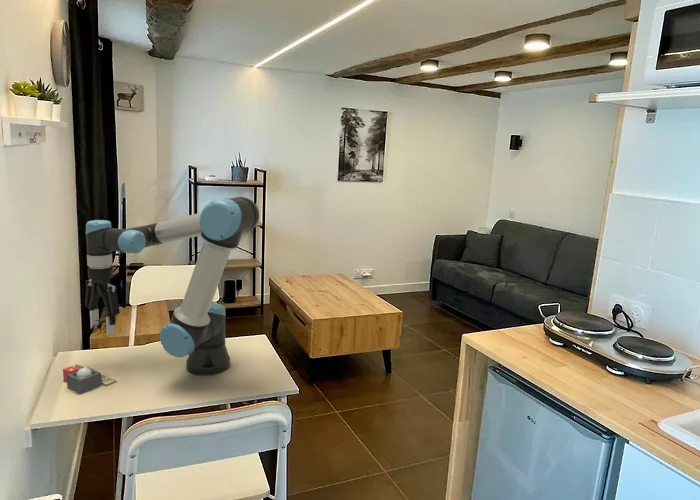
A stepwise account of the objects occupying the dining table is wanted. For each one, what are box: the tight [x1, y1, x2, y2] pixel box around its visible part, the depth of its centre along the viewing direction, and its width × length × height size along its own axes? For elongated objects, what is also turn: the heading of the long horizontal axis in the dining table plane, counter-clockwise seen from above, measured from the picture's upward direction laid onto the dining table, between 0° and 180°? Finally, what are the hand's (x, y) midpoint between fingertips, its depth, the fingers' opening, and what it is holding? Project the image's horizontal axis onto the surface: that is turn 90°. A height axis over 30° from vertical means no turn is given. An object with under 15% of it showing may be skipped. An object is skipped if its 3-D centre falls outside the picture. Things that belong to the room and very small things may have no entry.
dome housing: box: [66, 366, 103, 395], centre depth 153 cm, size 7×7×4 cm
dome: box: [77, 367, 92, 379], centre depth 153 cm, size 4×4×5 cm
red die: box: [62, 364, 81, 383], centre depth 158 cm, size 4×4×4 cm
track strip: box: [75, 363, 118, 387], centre depth 162 cm, size 22×4×1 cm, turn 60°
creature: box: [86, 319, 107, 337], centre depth 165 cm, size 8×5×8 cm
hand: (102, 330), depth 167 cm, fingers closed on creature, 8 cm apart
